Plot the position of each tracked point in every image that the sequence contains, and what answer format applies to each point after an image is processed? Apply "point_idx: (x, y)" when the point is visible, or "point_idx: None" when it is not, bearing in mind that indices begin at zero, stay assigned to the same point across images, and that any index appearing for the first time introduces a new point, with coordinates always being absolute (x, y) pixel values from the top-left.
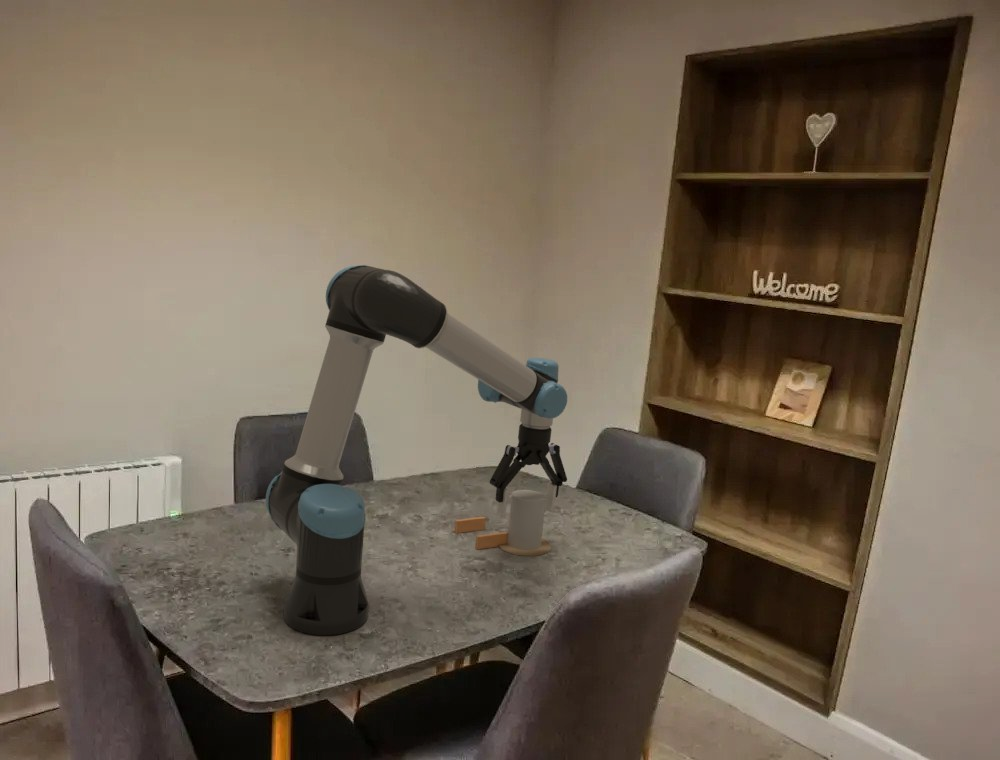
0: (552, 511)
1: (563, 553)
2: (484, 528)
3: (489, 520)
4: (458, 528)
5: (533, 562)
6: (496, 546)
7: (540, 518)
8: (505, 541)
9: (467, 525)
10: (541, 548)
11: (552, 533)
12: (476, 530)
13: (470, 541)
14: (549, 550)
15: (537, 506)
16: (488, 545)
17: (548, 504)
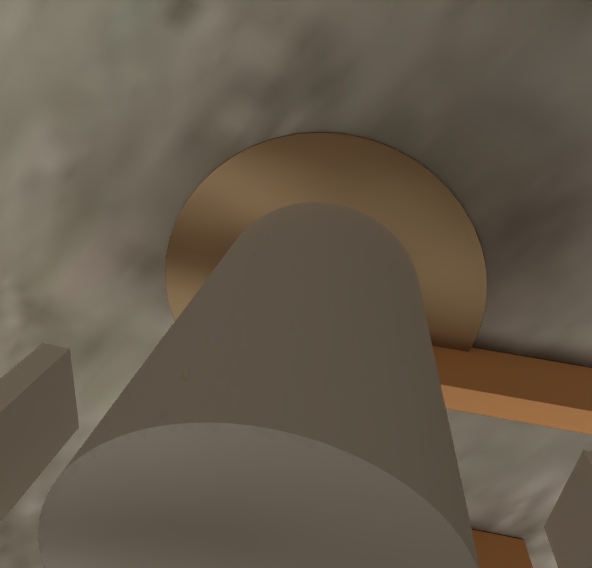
0: (51, 348)
1: (169, 86)
2: None
3: None
4: (520, 558)
5: (458, 57)
6: (478, 349)
7: (252, 291)
8: None
9: None
10: (268, 196)
11: (73, 333)
12: None
13: (544, 453)
14: (234, 156)
15: (288, 375)
16: (536, 366)
17: (40, 428)
